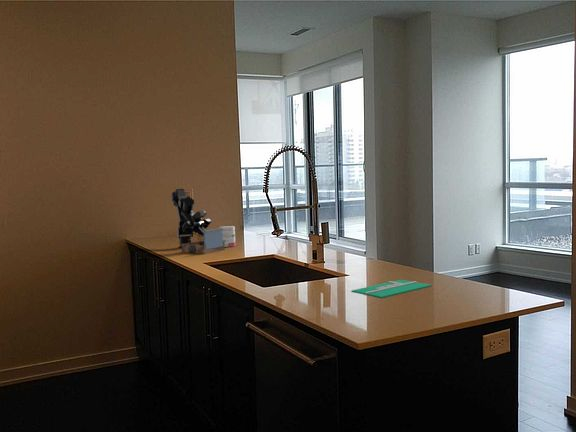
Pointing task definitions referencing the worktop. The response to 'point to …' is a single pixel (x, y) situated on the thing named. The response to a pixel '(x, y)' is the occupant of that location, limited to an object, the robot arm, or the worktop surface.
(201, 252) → the tray
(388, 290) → the sign
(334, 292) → the worktop surface
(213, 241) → the tailgate
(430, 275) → the worktop surface
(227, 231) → the ink box
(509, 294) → the worktop surface
